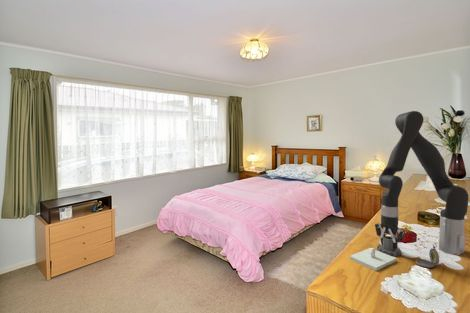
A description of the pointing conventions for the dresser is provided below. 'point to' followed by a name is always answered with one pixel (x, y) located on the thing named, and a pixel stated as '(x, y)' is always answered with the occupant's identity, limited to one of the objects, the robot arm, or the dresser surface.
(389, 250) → the planet gear
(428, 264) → the pocket watch
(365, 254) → the plate
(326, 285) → the dresser surface
